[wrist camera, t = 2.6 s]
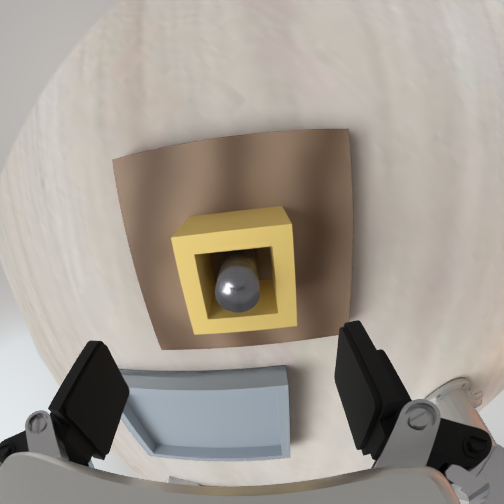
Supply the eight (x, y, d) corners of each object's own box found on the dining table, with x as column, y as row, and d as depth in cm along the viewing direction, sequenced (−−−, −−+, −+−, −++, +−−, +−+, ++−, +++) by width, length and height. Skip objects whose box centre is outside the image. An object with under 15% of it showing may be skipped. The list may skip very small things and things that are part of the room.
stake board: (339, 130, 20) (348, 128, 18) (341, 321, 26) (347, 333, 24) (122, 158, 21) (112, 159, 19) (166, 337, 27) (161, 349, 25)
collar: (282, 206, 20) (291, 224, 16) (288, 290, 23) (297, 325, 18) (188, 217, 20) (171, 237, 16) (204, 298, 23) (194, 334, 18)
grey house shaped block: (169, 476, 41) (162, 513, 32) (199, 483, 42) (195, 520, 33) (165, 479, 43) (159, 515, 33) (194, 487, 44) (190, 522, 34)
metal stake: (255, 237, 21) (257, 271, 15) (258, 269, 22) (261, 310, 16) (221, 241, 21) (211, 275, 16) (226, 272, 22) (218, 314, 16)
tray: (285, 365, 28) (288, 384, 25) (288, 442, 35) (290, 457, 32) (106, 368, 29) (97, 384, 26) (153, 441, 35) (149, 455, 33)
